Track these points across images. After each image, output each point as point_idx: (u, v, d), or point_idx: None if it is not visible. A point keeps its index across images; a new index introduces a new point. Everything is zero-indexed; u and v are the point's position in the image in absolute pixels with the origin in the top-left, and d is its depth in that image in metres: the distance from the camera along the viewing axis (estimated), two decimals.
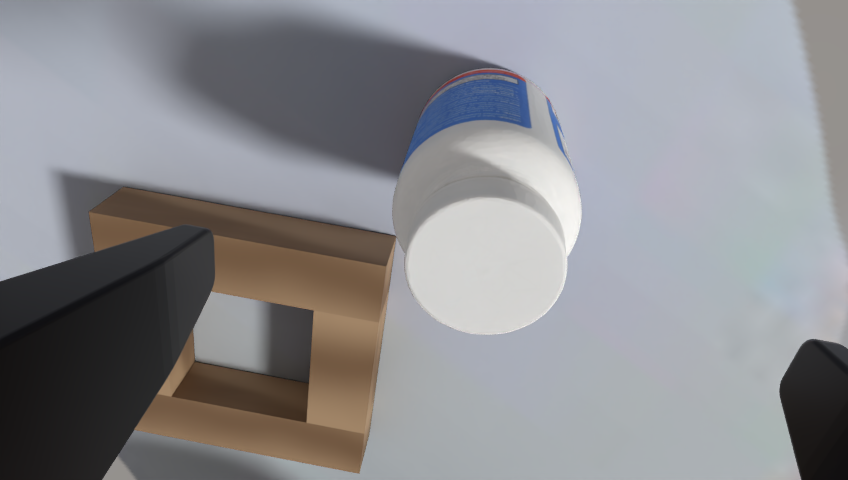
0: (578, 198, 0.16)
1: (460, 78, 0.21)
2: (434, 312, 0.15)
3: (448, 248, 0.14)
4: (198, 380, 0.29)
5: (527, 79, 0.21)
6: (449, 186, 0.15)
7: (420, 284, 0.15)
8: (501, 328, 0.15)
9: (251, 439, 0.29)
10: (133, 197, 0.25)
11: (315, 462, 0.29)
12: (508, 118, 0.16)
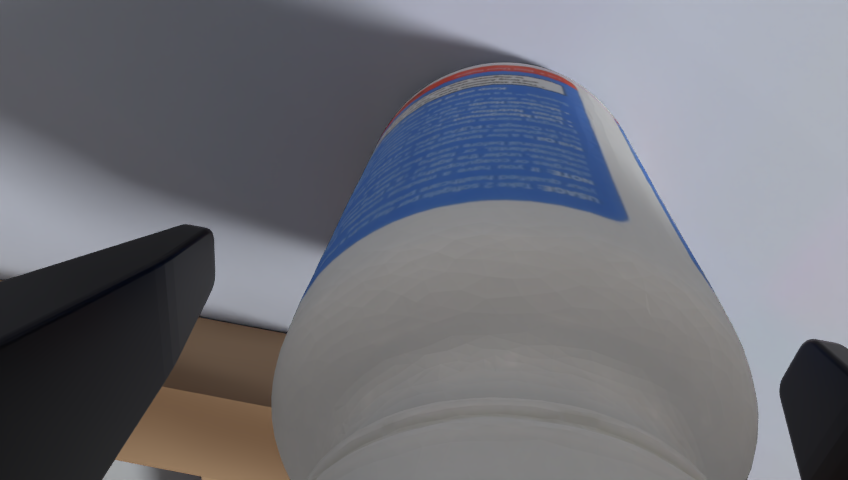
0: (756, 410, 0.06)
1: (448, 82, 0.11)
2: None
3: None
4: None
5: (578, 84, 0.11)
6: (393, 448, 0.04)
7: None
8: None
9: None
10: None
11: None
12: (565, 192, 0.06)
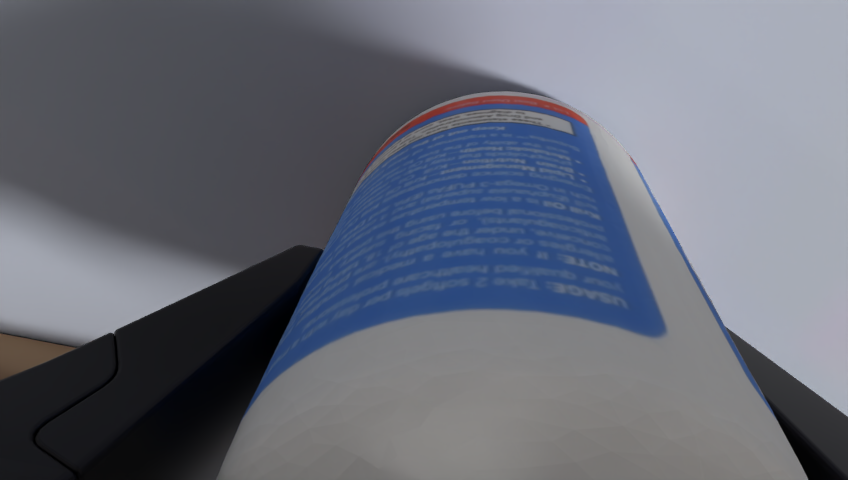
0: None
1: (437, 116, 0.09)
2: None
3: None
4: None
5: (588, 117, 0.10)
6: None
7: None
8: None
9: None
10: None
11: None
12: (583, 292, 0.05)
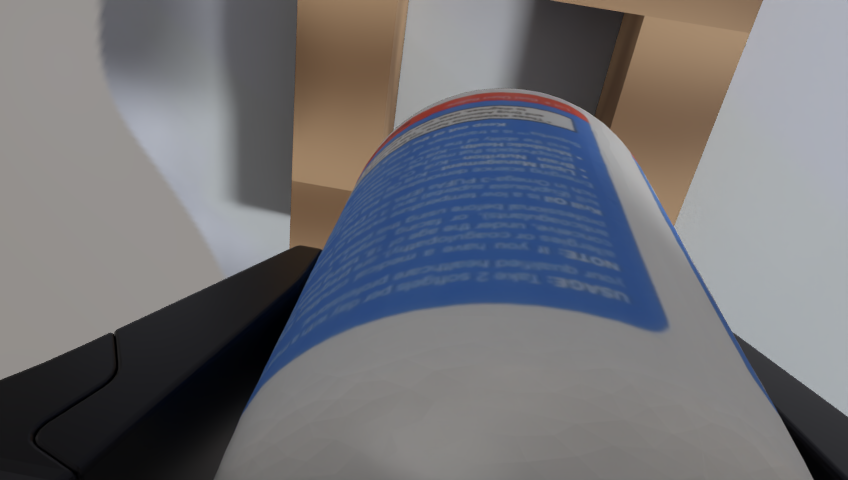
0: None
1: (438, 113, 0.09)
2: None
3: None
4: None
5: (588, 114, 0.10)
6: None
7: None
8: None
9: None
10: None
11: None
12: (584, 287, 0.05)
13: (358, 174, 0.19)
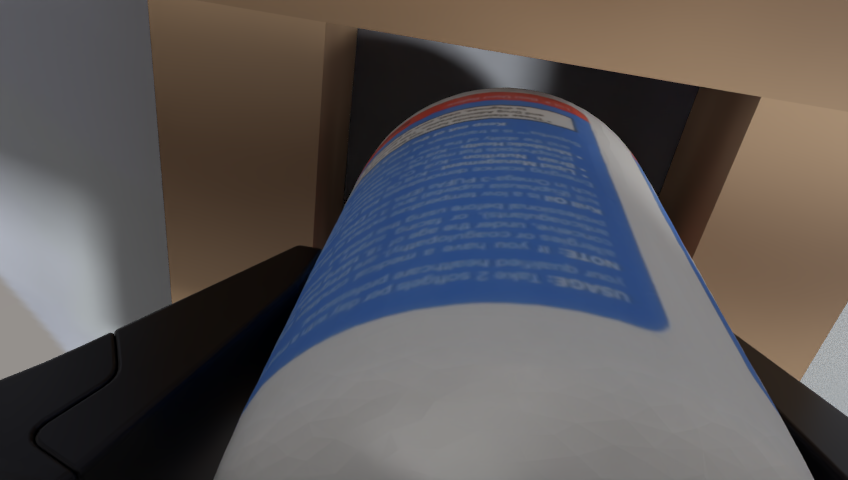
0: None
1: (438, 112, 0.09)
2: None
3: None
4: None
5: (589, 113, 0.10)
6: None
7: None
8: None
9: None
10: None
11: None
12: (585, 287, 0.05)
13: None
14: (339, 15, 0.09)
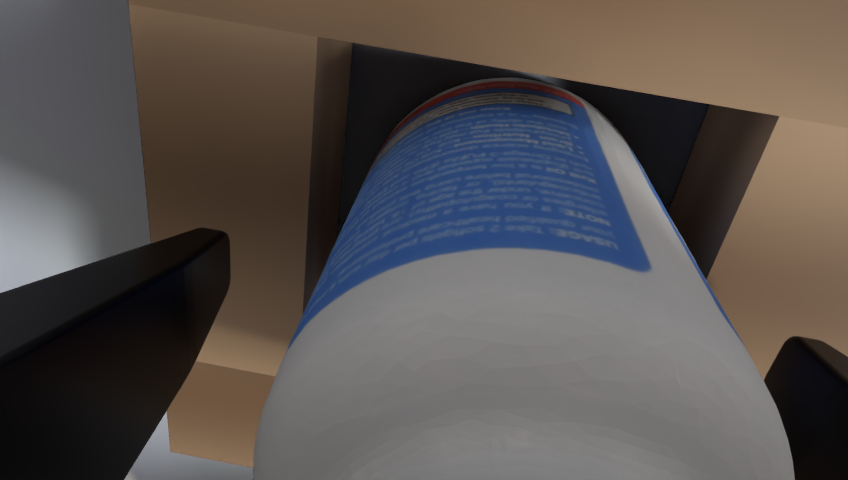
0: None
1: (447, 99, 0.10)
2: None
3: None
4: None
5: (585, 101, 0.10)
6: None
7: None
8: None
9: None
10: None
11: None
12: (581, 237, 0.06)
13: (267, 351, 0.11)
14: (331, 29, 0.08)
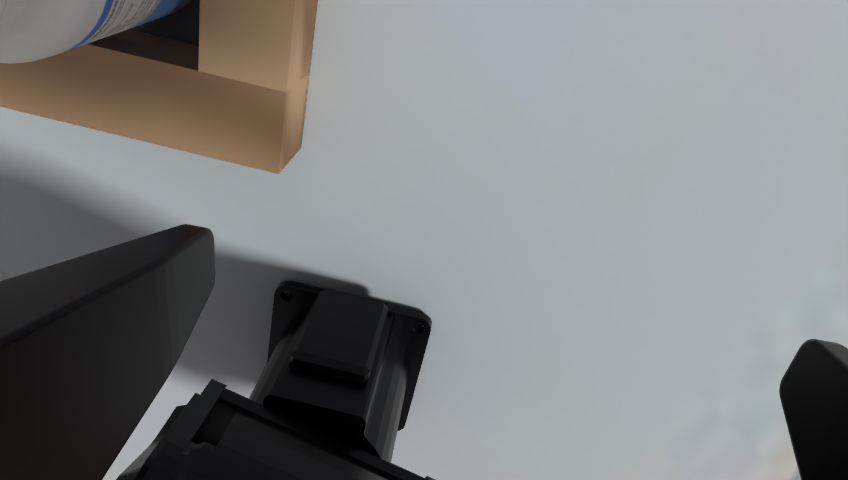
0: None
1: None
2: None
3: None
4: None
5: None
6: None
7: None
8: None
9: (117, 108, 0.19)
10: None
11: (213, 152, 0.19)
12: None
13: None
14: None
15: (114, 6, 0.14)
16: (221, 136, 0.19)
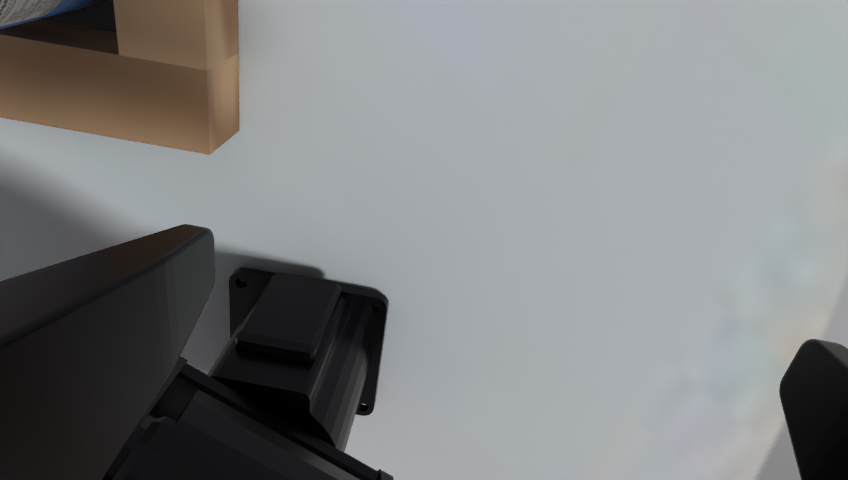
0: None
1: None
2: None
3: None
4: None
5: None
6: None
7: None
8: None
9: (46, 99, 0.19)
10: None
11: (144, 137, 0.20)
12: None
13: None
14: None
15: None
16: (149, 120, 0.19)
